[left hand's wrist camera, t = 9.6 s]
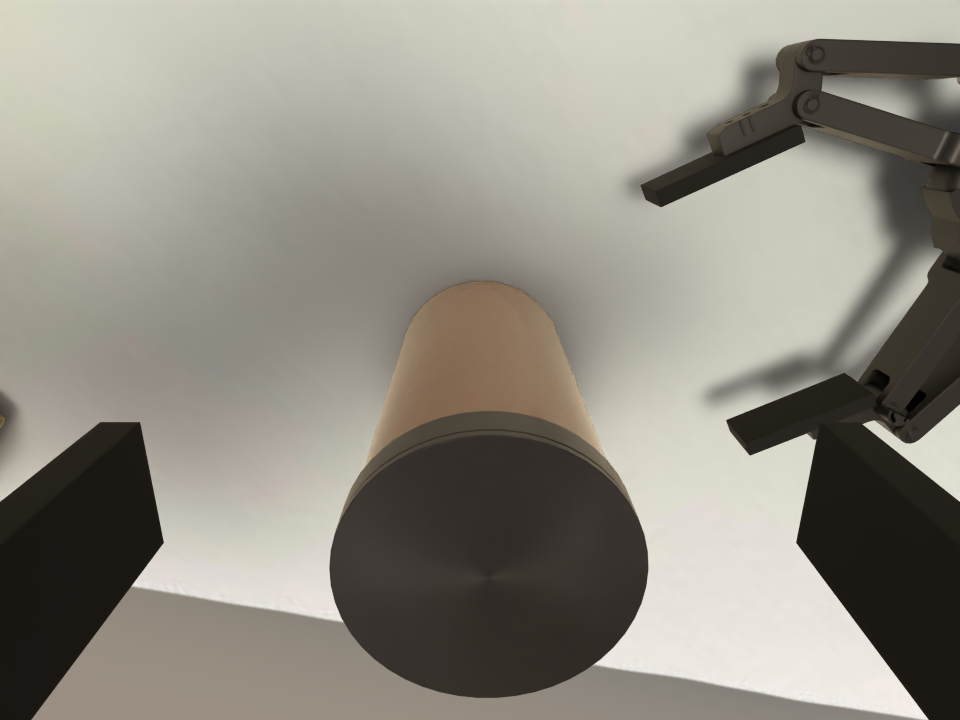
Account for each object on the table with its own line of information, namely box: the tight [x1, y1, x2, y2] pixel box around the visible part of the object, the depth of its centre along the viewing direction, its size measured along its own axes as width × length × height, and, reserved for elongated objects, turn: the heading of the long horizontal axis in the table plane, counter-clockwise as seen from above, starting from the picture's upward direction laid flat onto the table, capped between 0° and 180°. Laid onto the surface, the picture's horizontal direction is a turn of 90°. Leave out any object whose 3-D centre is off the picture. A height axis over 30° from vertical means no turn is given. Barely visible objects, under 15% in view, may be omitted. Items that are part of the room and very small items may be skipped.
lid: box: [329, 411, 648, 698], centre depth 21 cm, size 10×10×2 cm
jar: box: [364, 281, 605, 468], centre depth 30 cm, size 10×10×19 cm
